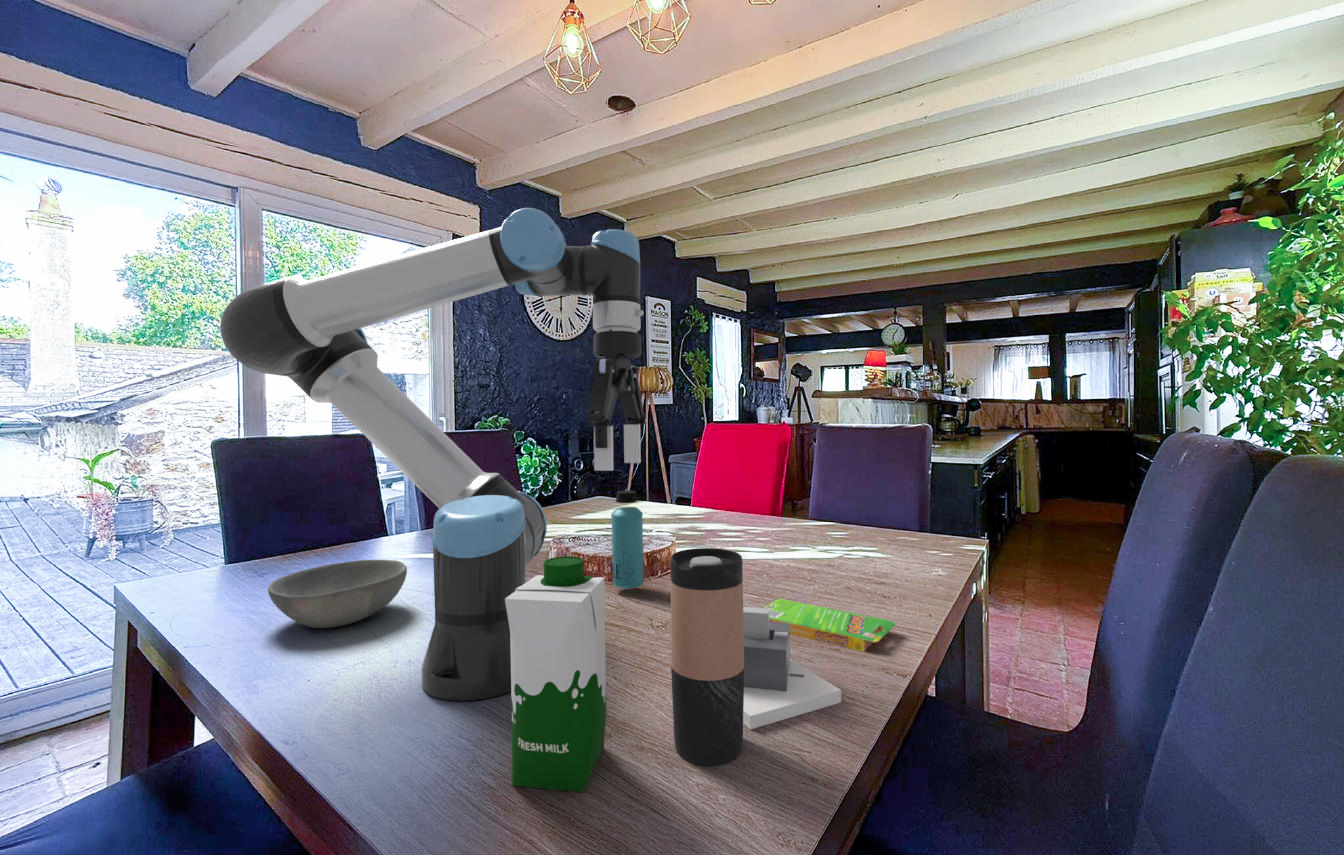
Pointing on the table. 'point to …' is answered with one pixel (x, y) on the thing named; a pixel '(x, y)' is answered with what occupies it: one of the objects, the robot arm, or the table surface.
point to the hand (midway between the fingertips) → (619, 466)
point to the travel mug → (707, 654)
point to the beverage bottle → (627, 543)
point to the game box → (829, 624)
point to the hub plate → (801, 688)
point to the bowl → (338, 591)
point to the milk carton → (557, 676)
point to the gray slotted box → (768, 659)
